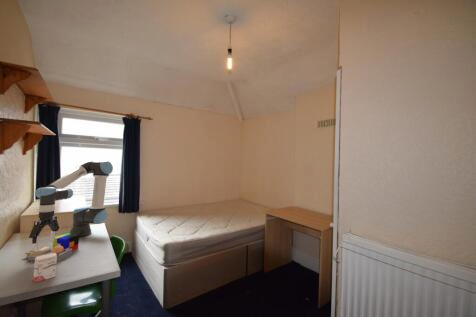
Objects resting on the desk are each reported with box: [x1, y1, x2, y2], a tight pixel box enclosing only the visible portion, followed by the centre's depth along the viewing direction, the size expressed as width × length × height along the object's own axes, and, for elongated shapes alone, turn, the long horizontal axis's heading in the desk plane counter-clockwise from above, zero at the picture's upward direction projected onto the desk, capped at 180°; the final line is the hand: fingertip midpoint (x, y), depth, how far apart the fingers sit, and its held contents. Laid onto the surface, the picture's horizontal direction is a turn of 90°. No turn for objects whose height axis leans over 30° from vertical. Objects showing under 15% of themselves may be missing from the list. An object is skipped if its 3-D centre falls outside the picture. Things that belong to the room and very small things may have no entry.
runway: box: [27, 246, 73, 263], centre depth 134 cm, size 10×20×6 cm, turn 91°
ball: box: [51, 246, 64, 256], centre depth 134 cm, size 6×6×6 cm
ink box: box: [32, 253, 58, 283], centre depth 111 cm, size 9×5×12 cm, turn 139°
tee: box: [24, 250, 36, 259], centre depth 134 cm, size 4×4×3 cm
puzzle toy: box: [51, 232, 80, 252], centre depth 145 cm, size 10×10×10 cm
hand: (44, 244), depth 134 cm, fingers open, 11 cm apart
